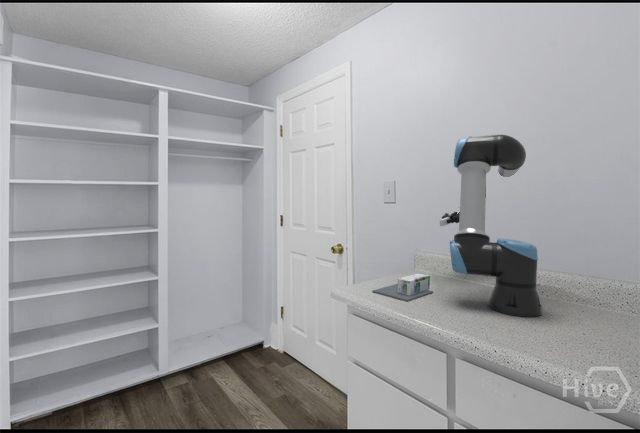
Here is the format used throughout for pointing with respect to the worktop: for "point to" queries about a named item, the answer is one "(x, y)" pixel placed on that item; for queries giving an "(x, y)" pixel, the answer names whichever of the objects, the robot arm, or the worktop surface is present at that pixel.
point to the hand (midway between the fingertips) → (441, 223)
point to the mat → (392, 292)
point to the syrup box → (413, 284)
